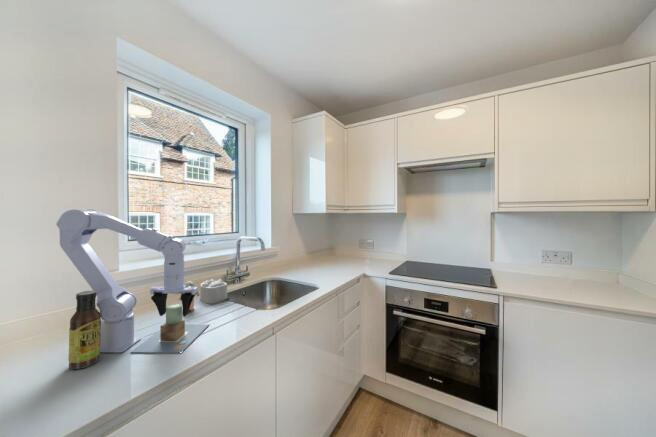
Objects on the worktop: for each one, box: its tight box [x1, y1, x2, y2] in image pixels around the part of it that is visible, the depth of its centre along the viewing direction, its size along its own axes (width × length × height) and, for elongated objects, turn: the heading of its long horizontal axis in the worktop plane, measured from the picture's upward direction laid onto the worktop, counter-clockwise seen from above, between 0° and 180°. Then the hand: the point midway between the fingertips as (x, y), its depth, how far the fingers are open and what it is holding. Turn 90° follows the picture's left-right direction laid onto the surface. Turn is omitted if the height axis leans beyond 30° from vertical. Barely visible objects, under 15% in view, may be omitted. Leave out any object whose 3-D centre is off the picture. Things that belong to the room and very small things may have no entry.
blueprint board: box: [130, 323, 210, 354], centre depth 82 cm, size 15×18×1 cm
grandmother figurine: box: [178, 280, 200, 312], centre depth 105 cm, size 8×4×13 cm, turn 143°
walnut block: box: [159, 318, 186, 341], centre depth 82 cm, size 5×5×5 cm
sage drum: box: [165, 304, 183, 325], centre depth 82 cm, size 5×5×5 cm
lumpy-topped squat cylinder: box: [199, 278, 228, 304], centre depth 120 cm, size 10×13×9 cm
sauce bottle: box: [68, 290, 102, 370], centre depth 68 cm, size 6×6×20 cm
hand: (174, 314), depth 82 cm, fingers open, 7 cm apart
